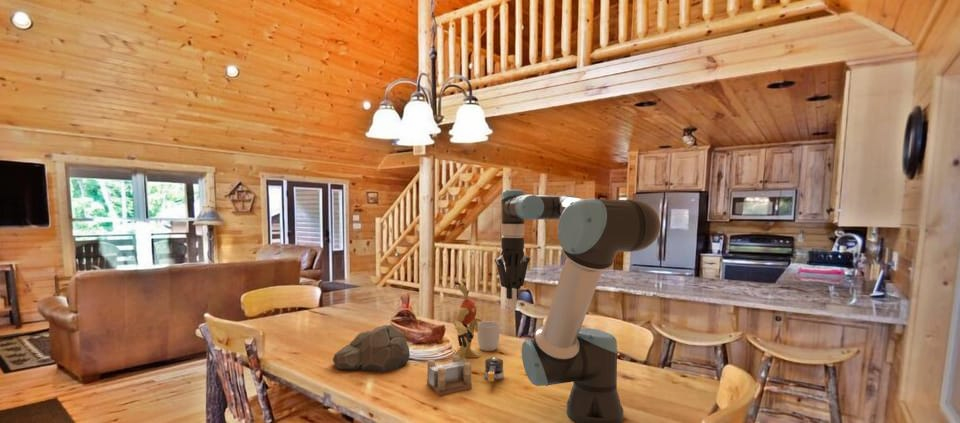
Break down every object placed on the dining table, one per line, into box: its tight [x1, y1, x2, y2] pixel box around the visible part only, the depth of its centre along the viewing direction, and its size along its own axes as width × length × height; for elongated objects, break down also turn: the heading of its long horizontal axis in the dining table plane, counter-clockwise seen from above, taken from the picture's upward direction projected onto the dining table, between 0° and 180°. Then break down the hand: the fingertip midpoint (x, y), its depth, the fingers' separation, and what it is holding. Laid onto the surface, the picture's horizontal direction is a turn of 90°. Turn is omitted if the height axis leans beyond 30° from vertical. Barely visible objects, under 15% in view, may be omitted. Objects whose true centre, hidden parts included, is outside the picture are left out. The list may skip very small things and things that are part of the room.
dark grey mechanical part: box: [484, 356, 504, 382], centre depth 138 cm, size 13×6×4 cm, turn 172°
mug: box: [476, 320, 501, 352], centre depth 173 cm, size 13×9×10 cm
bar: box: [429, 360, 466, 387], centre depth 134 cm, size 4×12×5 cm, turn 120°
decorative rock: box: [332, 324, 411, 373], centre depth 155 cm, size 27×22×15 cm
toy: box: [453, 281, 483, 363], centre depth 154 cm, size 23×9×30 cm, turn 168°
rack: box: [426, 354, 473, 396], centre depth 134 cm, size 10×11×8 cm
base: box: [484, 370, 505, 382], centre depth 142 cm, size 6×6×2 cm
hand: (512, 308), depth 138 cm, fingers closed
